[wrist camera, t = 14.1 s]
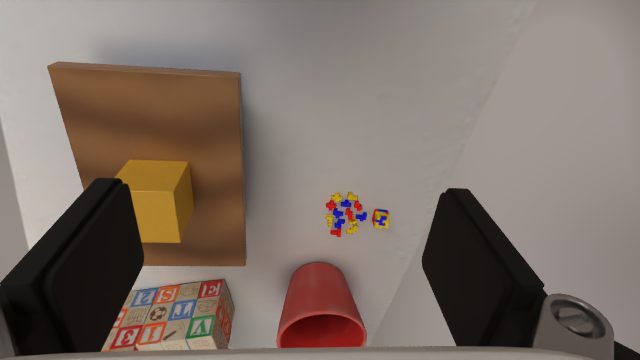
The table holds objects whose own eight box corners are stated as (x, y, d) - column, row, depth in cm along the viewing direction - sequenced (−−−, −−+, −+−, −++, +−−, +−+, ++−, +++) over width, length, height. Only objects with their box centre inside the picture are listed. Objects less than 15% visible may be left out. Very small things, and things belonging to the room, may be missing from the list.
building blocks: (329, 189, 44) (330, 197, 43) (391, 196, 45) (395, 204, 44) (320, 231, 47) (321, 239, 46) (379, 236, 49) (381, 244, 47)
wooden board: (57, 61, 28) (46, 65, 27) (240, 72, 29) (238, 77, 28) (112, 255, 38) (106, 265, 37) (246, 256, 40) (245, 266, 38)
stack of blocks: (224, 276, 50) (207, 359, 40) (235, 307, 54) (221, 391, 43) (72, 298, 50) (14, 386, 40) (92, 326, 54) (43, 415, 43)
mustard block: (129, 159, 31) (103, 190, 27) (189, 161, 32) (173, 192, 27) (139, 207, 34) (117, 242, 29) (194, 208, 34) (180, 243, 30)
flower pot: (336, 313, 56) (345, 374, 47) (269, 297, 53) (264, 359, 45) (367, 264, 51) (382, 323, 43) (294, 245, 48) (295, 303, 40)
